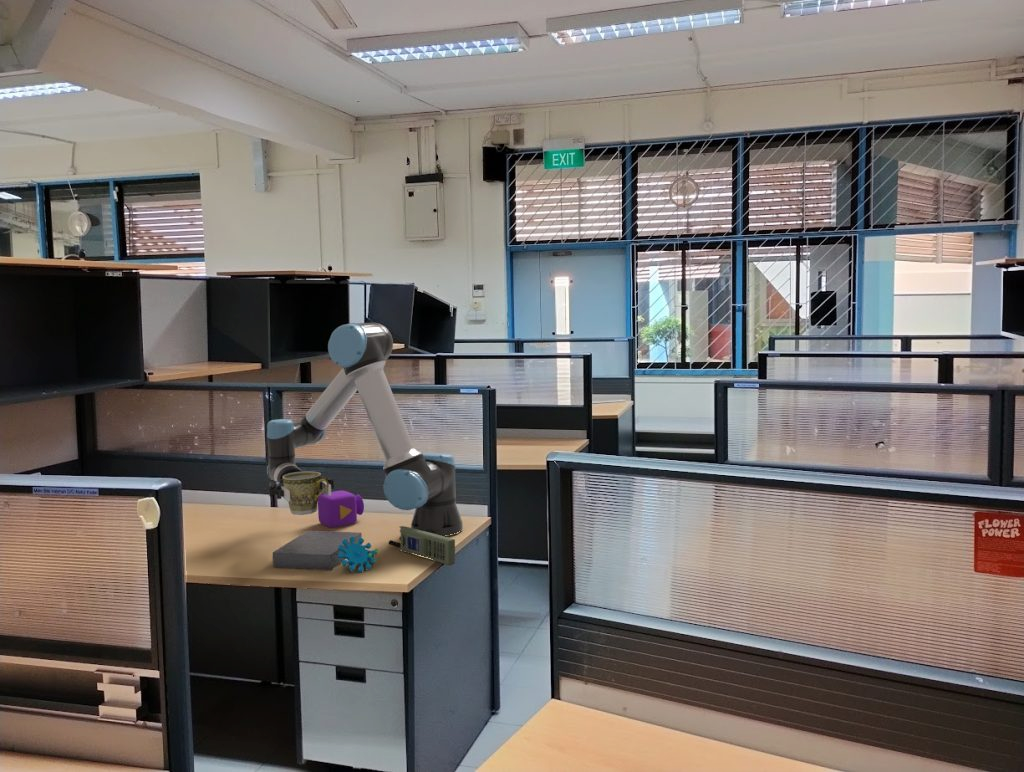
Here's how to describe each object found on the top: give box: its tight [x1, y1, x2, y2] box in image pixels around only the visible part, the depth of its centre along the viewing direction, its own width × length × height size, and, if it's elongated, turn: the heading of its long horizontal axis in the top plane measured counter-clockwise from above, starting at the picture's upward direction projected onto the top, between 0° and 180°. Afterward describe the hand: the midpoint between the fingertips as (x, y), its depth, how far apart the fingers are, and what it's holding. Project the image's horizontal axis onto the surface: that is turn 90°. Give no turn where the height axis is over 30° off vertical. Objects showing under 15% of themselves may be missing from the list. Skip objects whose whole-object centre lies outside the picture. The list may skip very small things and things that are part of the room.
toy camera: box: [317, 490, 365, 529], centre depth 247 cm, size 11×14×10 cm
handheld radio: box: [388, 525, 456, 566], centre depth 213 cm, size 7×3×25 cm
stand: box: [272, 530, 363, 571], centre depth 213 cm, size 16×20×4 cm
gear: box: [338, 537, 379, 573], centre depth 204 cm, size 11×6×10 cm
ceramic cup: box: [282, 470, 329, 516], centre depth 213 cm, size 13×10×10 cm
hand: (309, 493), depth 209 cm, fingers closed on ceramic cup, 10 cm apart
